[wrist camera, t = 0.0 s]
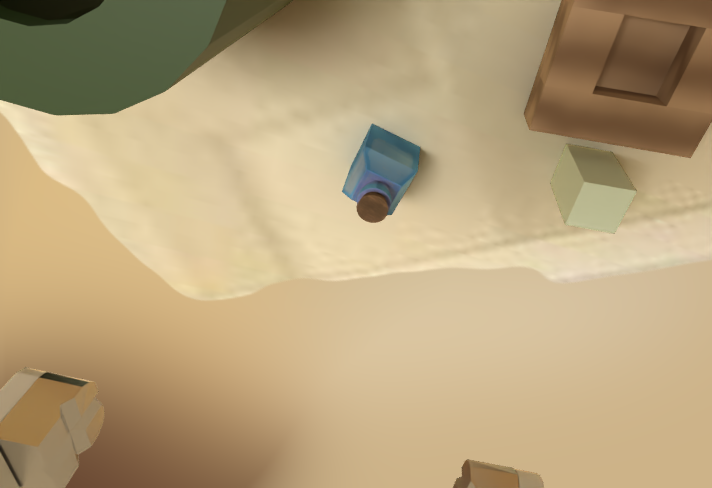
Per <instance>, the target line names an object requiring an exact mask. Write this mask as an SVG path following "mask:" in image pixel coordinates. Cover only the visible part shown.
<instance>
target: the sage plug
mask: <svg viewBox="0 0 712 488" xmlns="http://www.w3.org/2000/svg"><path fill="white" fill-rule="evenodd" d="M550 184H551V187H552V189H553V192H554V195H555V198H556V201H557V203H558V206H559V209H560V212H561V215H562V217H563V220H564V223H565V225H569V226H574V227H580V228H585V229H591V230H596V231H601V232H607V233H612V234H615V232H616V230H617V228H618V227H619V225H620V223H621V221H622V219H623V217H624V215H625V213H626V211H627V209H628V208H629V206H630V204H631V202H632V200H633V198H634V196H635V194H636V192H637V190H636V189H635V187H634V186H633V184H632V183H631V181H630V179H629V178H628V176H627V175H626V173H625V172H624V170H623V169H622V167H621V165H620V164H619V162H618V161H617V159H616V158H615V156H614V154H613V153H612V152H611V151H605V150H599V149H594V148H588V147H582V146H576V145H571V144H566V145H565V148H564V150H563V153H562V155H561V158H560V160H559V163H558V165H557V168H556V170H555V173H554V175H553V178H552V180H551V183H550Z"/></svg>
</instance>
